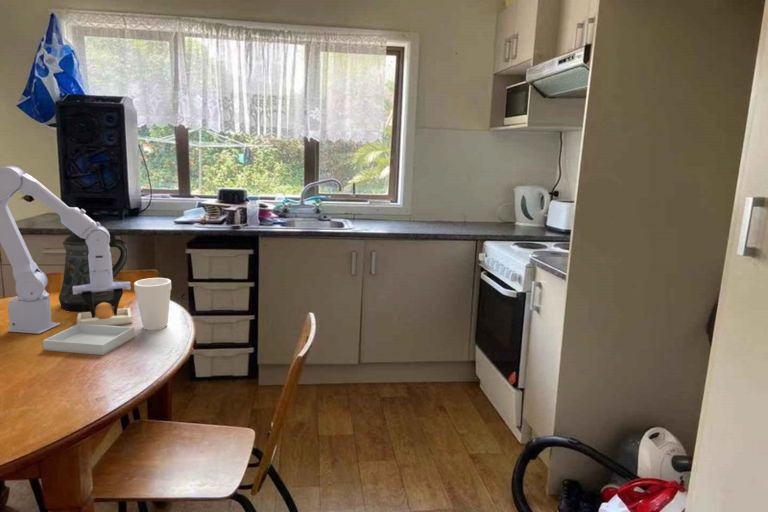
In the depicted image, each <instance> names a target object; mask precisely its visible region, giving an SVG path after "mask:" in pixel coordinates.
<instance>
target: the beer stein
mask: <svg viewBox="0 0 768 512" xmlns="http://www.w3.org/2000/svg"><path fill="white" fill-rule="evenodd" d="M106 230H107V231H108V232H109V234H110V243H109V246H110V248H117V249H118V250H119V253H120V254H119V258H118V260H117V261H116V262H115V264H114V265H112V275H113V280H114V279H115V278H116V277H117V276H118V275H119V274H120V273H121V271H122V270H123V268H124V267H125V265H126V264H127V262H128V259H129V249H128V247H127V245H126V244H127V243H126V242H125V241H124V240H122V239H120V238H118V237H116V235H115V233H114V232H112V231H111V230H109V229H106ZM85 240H86V239H84V238H80V237H79V236H78V235H76V234H75V233H74V232H72V233H71V234H70V235H68V236H66V238H65V239H64V240H63V241H62V246H63V248H64V249H65V257H64V258H65V259H64V268H63V269H64V271H63V272H64V273H63V280H62V284H61V289H60V292H59V294H58V301H59V304H60V308H61V310H63V311H64V310H65V311H64V312H66V311H69V313H84V312H90V309H89V307H88V305H87V304H86V302H85V301H84V299H83V298H82V293H78V294H74V295H73V286H80V285H86V284H90V273H89V261H88V254H89V249H88V246H87V244H86V241H85ZM92 294H93V305H94V310H95V308H96V306H97V305H98V304H100V303H109V304H111V305H112V306H113V307H114V296H113V290H112V291H100V292H92Z"/></svg>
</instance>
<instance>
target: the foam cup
mask: <svg viewBox="0 0 768 512" xmlns="http://www.w3.org/2000/svg"><path fill="white" fill-rule="evenodd" d="M133 288H134V290H133V291H134V293H135V296H136V297H135V298H136V301H137V306H138V310H139V315H140V320H141V324H142V326H143V329H144V330H146V329H147V331H157V330H156V329H159V330H161V329H160V328H163V329H165V328H166V327H165V326H167V327H168V325H167V324H169V311H170V300H171V291H172V280H171V279H170V278H167V277H166V278H165V277H152V278H151V277H149V278H144V279H143V278H142V279H139V280H136V281H135V282H133ZM164 327H165V328H164Z"/></svg>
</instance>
